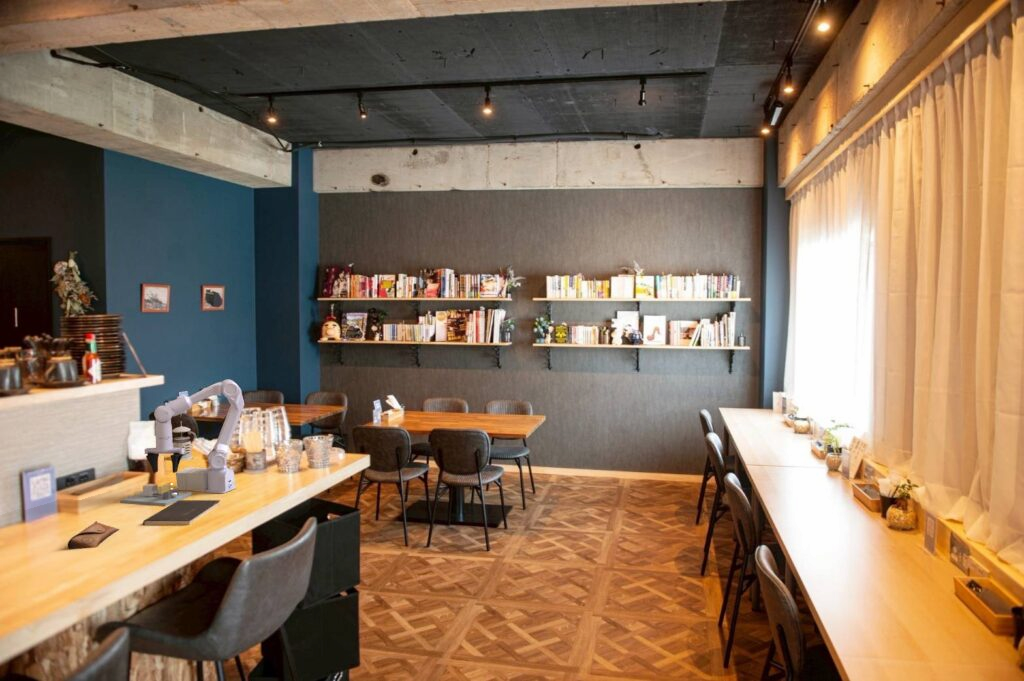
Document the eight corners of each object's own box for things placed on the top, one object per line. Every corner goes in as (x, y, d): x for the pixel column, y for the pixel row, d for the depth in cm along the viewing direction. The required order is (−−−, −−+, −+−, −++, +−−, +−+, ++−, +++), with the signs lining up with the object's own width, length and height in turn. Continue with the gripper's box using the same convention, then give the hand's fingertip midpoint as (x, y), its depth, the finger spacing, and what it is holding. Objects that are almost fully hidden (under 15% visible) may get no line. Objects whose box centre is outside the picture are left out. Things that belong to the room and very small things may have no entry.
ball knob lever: (174, 489, 264) (174, 482, 264) (162, 493, 258) (162, 486, 258) (170, 488, 265) (170, 482, 265) (158, 493, 258) (157, 486, 258)
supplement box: (189, 483, 285) (216, 485, 283) (176, 490, 278) (204, 491, 275) (187, 466, 284) (215, 467, 282) (175, 472, 277) (203, 473, 274)
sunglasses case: (97, 547, 213) (84, 529, 212) (76, 560, 212) (63, 542, 211) (121, 528, 231) (109, 512, 230) (101, 540, 230) (89, 524, 229)
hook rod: (179, 496, 265) (179, 485, 264) (173, 498, 262) (173, 487, 261) (149, 494, 268) (148, 483, 268) (143, 496, 265) (142, 485, 265)
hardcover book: (220, 506, 257) (220, 500, 257) (190, 526, 234) (190, 519, 234) (177, 506, 258) (177, 500, 257) (143, 526, 235) (143, 519, 234)
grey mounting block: (178, 495, 266) (178, 488, 266) (168, 499, 261) (168, 491, 261) (173, 495, 267) (173, 487, 267) (162, 499, 261) (162, 491, 261)
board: (191, 495, 270) (191, 492, 270) (165, 505, 256) (165, 503, 256) (147, 492, 274) (147, 489, 274) (120, 502, 261) (119, 499, 261)
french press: (167, 458, 333) (165, 406, 332) (191, 454, 342) (189, 404, 341) (176, 461, 327) (174, 408, 326) (201, 457, 336) (199, 405, 334)
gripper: (187, 435, 270) (189, 469, 271) (151, 435, 271) (152, 469, 272) (178, 438, 263) (179, 474, 264) (140, 438, 264) (142, 474, 265)
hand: (165, 472), depth 267 cm, fingers open, 7 cm apart
